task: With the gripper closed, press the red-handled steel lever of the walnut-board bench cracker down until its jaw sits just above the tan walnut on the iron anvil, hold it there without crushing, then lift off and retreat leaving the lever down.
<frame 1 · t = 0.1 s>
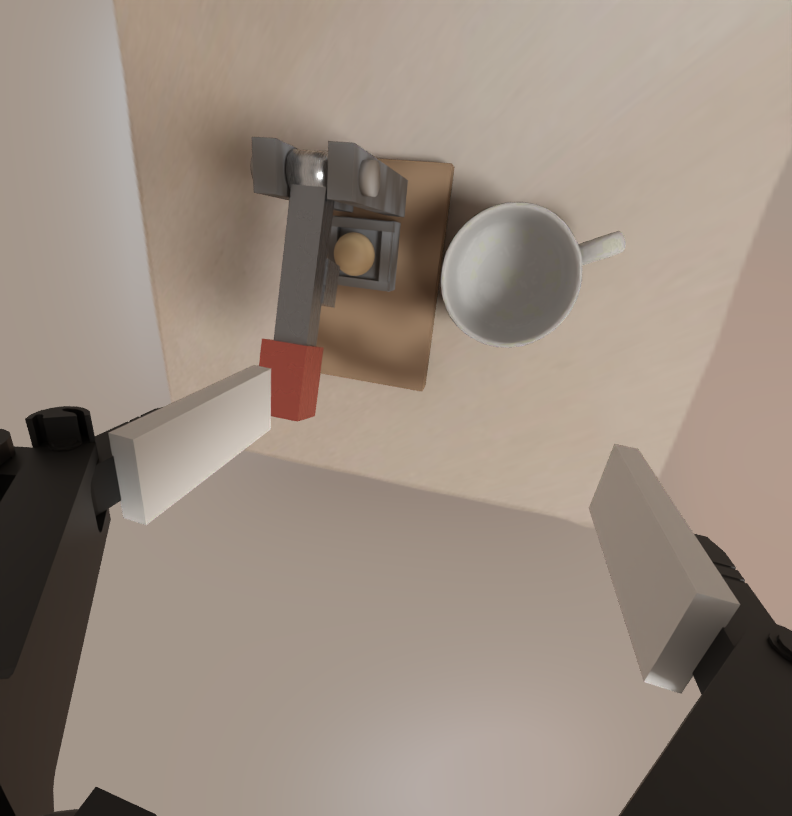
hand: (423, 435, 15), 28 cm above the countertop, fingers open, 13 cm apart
lever: (306, 291, 28), point 15 cm above the countertop, hinge at -15.0°
walnut: (354, 254, 35), point 6 cm above the countertop, touching press base
press base: (372, 279, 42), on the countertop
teacup: (525, 270, 38), on the countertop
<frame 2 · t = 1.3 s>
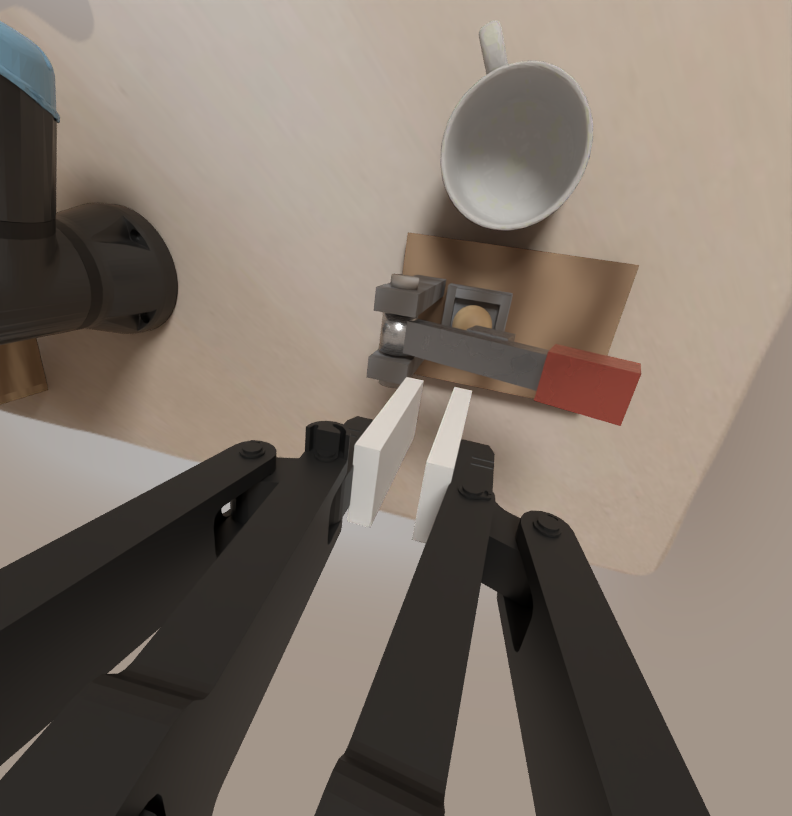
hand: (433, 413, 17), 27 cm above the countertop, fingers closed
lever: (494, 355, 28), point 15 cm above the countertop, hinge at -15.0°
walnut: (472, 325, 37), point 6 cm above the countertop, touching press base
press base: (500, 319, 42), on the countertop
teacup: (511, 149, 36), on the countertop
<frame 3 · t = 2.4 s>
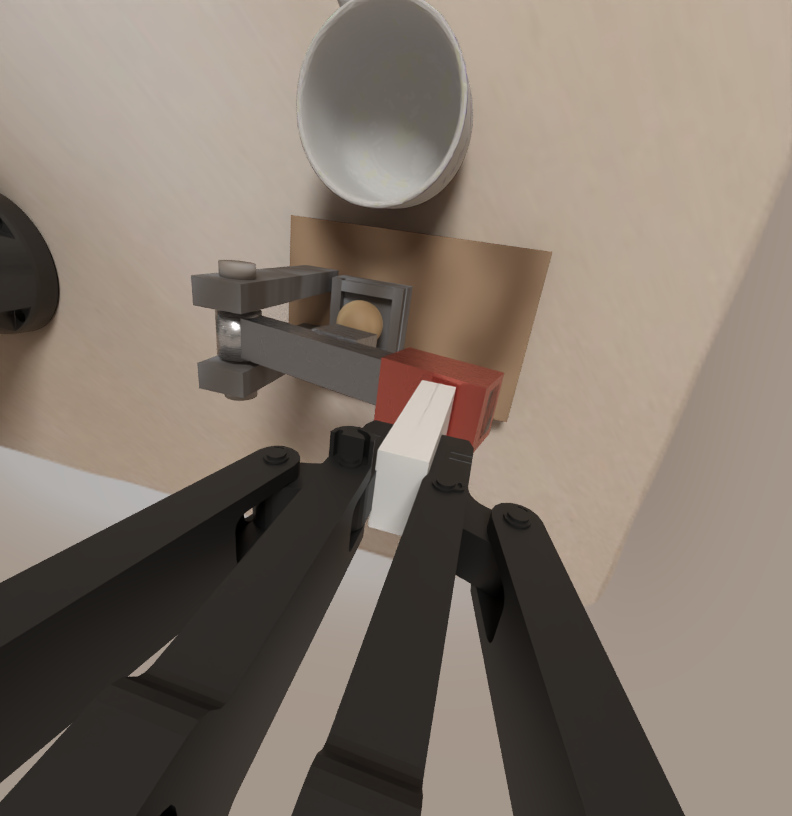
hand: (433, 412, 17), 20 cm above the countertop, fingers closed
lever: (343, 360, 22), point 15 cm above the countertop, hinge at -14.9°, touching gripper
walnut: (359, 324, 31), point 6 cm above the countertop, touching press base
press base: (407, 317, 36), on the countertop
teacup: (403, 115, 31), on the countertop
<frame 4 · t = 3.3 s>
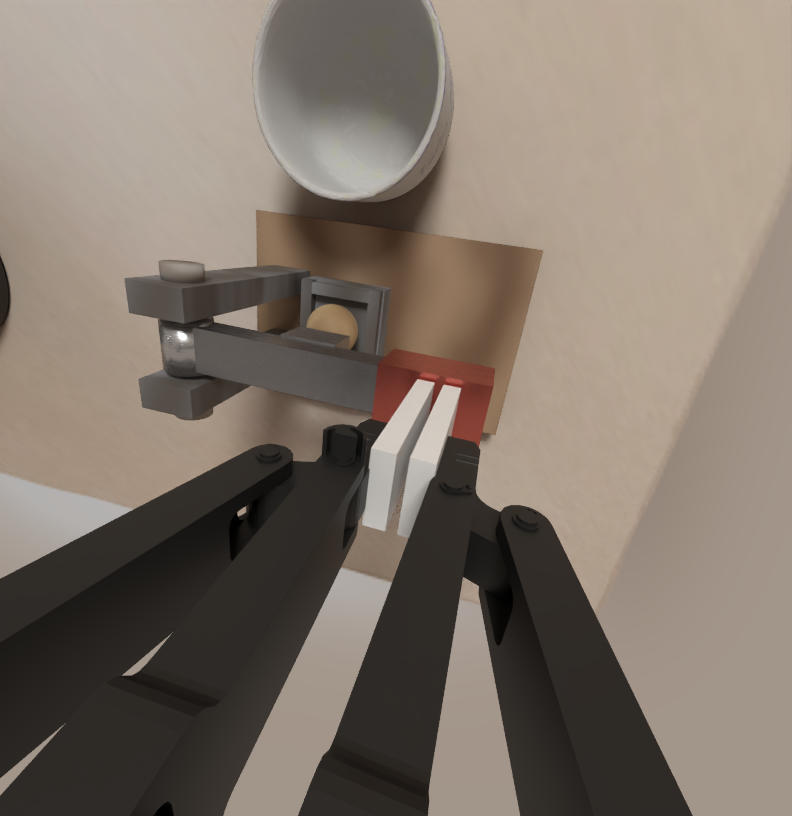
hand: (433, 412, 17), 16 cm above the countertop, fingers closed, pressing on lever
lever: (320, 367, 21), point 14 cm above the countertop, hinge at -1.6°, touching gripper
walnut: (332, 330, 28), point 6 cm above the countertop, touching press base
press base: (386, 322, 33), on the countertop
teacup: (378, 99, 28), on the countertop
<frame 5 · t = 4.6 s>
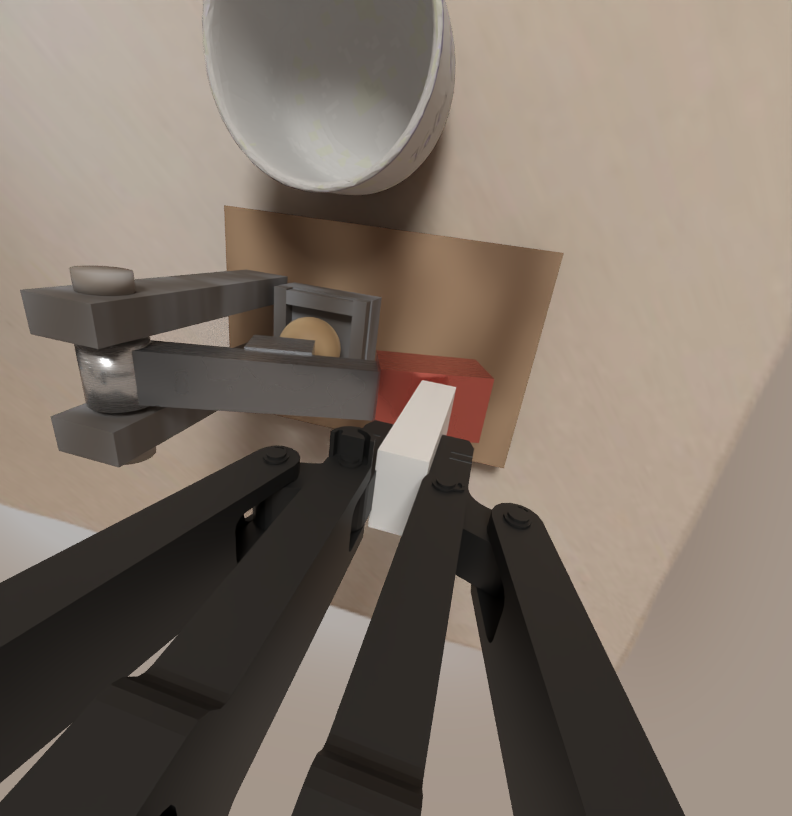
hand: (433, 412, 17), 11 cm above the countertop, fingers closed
lever: (296, 378, 19), point 11 cm above the countertop, hinge at 20.4°, touching gripper
walnut: (309, 348, 24), point 6 cm above the countertop, touching press base
press base: (377, 335, 28), on the countertop
teacup: (366, 72, 23), on the countertop
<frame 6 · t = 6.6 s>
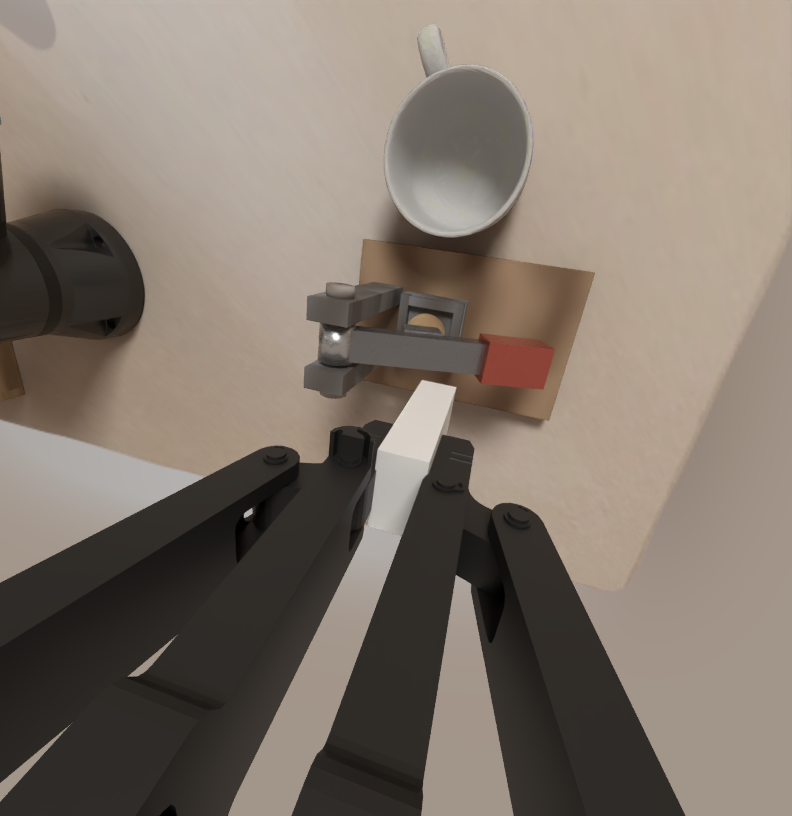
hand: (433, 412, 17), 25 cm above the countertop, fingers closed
lever: (432, 349, 31), point 11 cm above the countertop, hinge at 20.5°
walnut: (424, 334, 36), point 6 cm above the countertop, touching press base
press base: (460, 328, 41), on the countertop
teacup: (465, 155, 35), on the countertop
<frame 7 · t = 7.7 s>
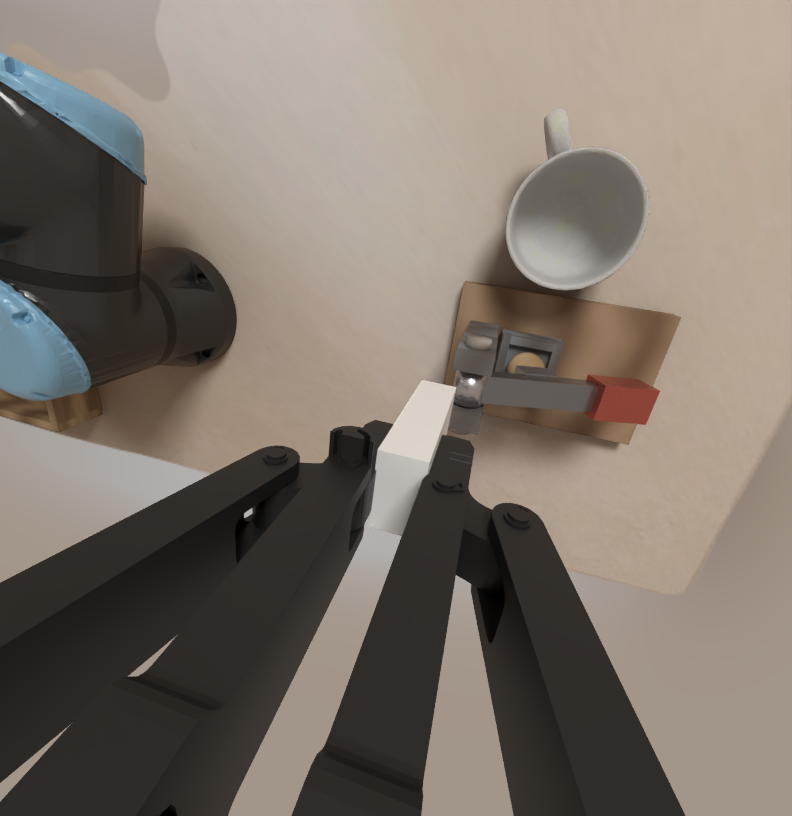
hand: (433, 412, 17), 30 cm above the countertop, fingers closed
lever: (547, 389, 35), point 11 cm above the countertop, hinge at 20.5°
walnut: (525, 370, 40), point 6 cm above the countertop, touching press base
press base: (546, 360, 45), on the countertop
teacup: (562, 209, 39), on the countertop
teapot caddy: (27, 339, 63), on the countertop
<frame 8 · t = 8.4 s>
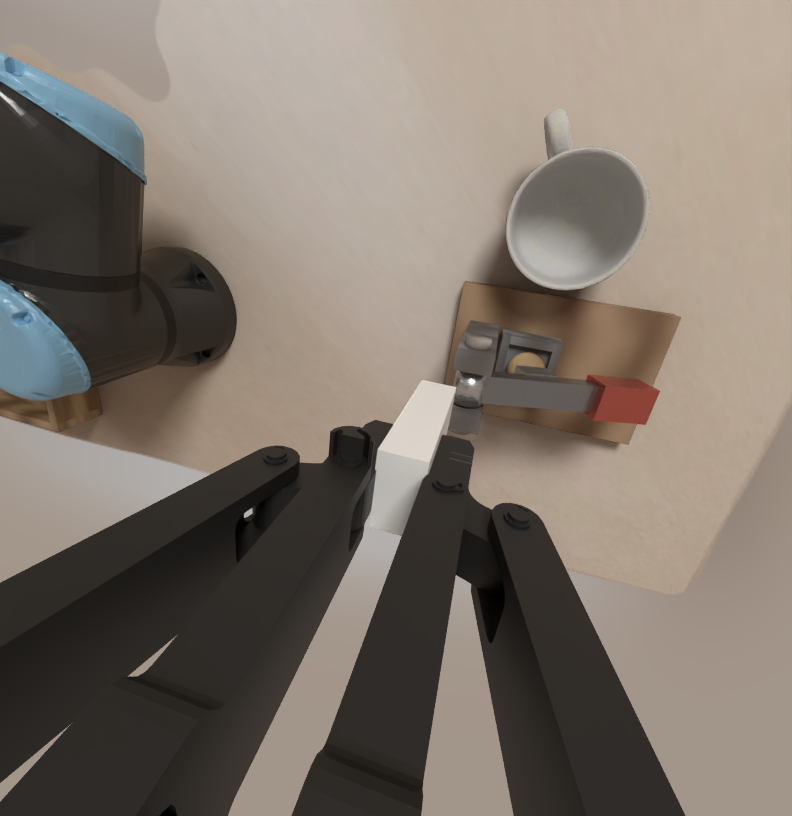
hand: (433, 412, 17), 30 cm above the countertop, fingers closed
lever: (547, 389, 35), point 11 cm above the countertop, hinge at 20.5°
walnut: (525, 370, 40), point 6 cm above the countertop, touching press base
press base: (546, 360, 45), on the countertop
teacup: (562, 209, 39), on the countertop
teapot caddy: (27, 339, 63), on the countertop
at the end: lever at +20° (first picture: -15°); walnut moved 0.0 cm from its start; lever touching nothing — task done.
